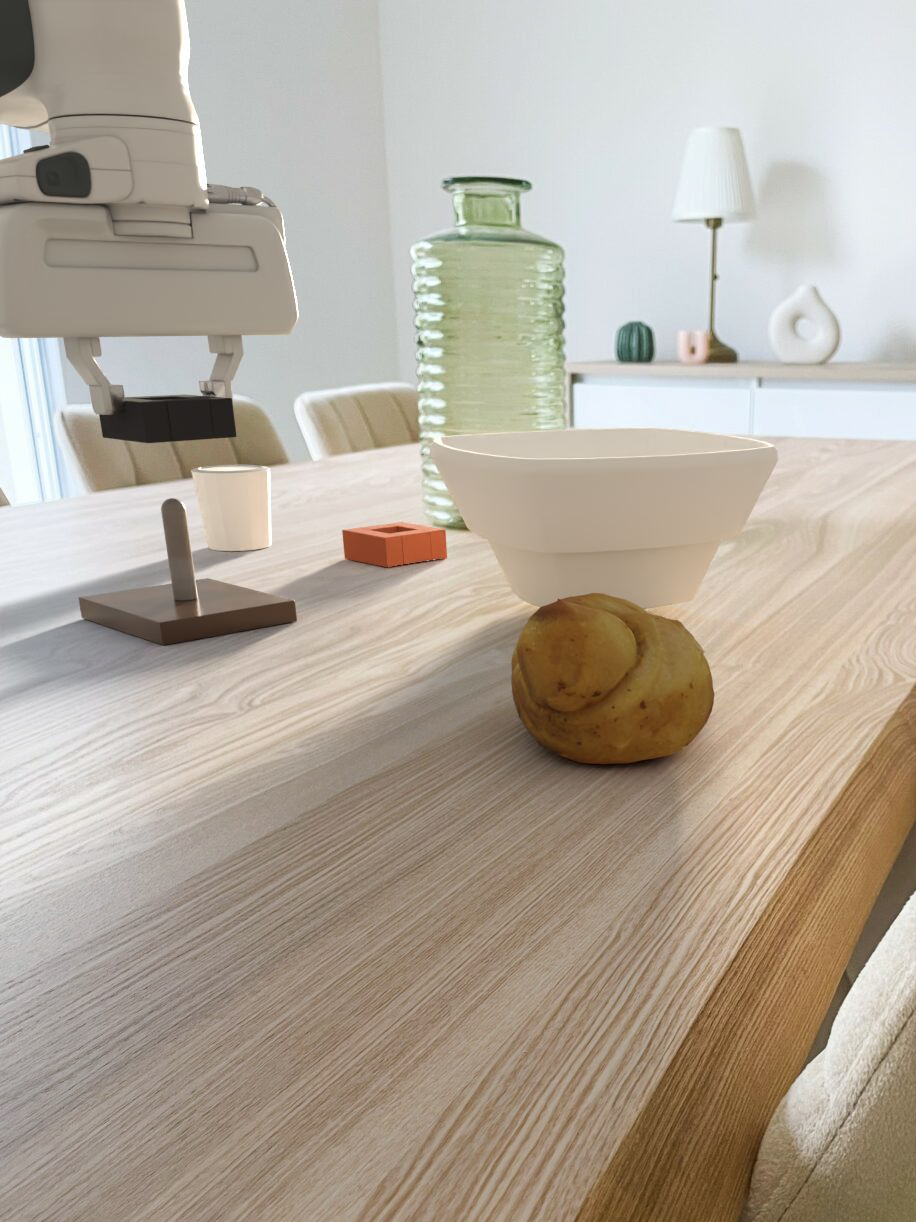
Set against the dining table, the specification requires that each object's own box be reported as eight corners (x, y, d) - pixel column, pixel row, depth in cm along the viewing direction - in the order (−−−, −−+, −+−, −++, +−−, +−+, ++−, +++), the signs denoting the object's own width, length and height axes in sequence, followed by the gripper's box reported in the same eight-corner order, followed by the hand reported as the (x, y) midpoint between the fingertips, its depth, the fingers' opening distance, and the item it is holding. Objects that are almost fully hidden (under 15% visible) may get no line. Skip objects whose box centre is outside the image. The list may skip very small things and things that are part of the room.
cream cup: (219, 554, 116) (208, 473, 113) (189, 545, 121) (179, 467, 118) (290, 546, 120) (282, 468, 117) (259, 537, 125) (250, 462, 122)
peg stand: (81, 618, 92) (60, 497, 89) (210, 597, 98) (195, 484, 95) (163, 645, 84) (143, 514, 81) (297, 621, 91) (284, 499, 88)
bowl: (409, 594, 99) (397, 435, 95) (664, 570, 109) (664, 424, 104) (517, 656, 81) (509, 464, 77) (812, 620, 91) (820, 447, 86)
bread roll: (497, 708, 71) (490, 559, 67) (671, 697, 73) (672, 552, 69) (529, 785, 59) (522, 609, 56) (734, 770, 61) (739, 599, 58)
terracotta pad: (344, 558, 114) (341, 529, 113) (403, 550, 118) (401, 522, 117) (387, 567, 110) (385, 537, 109) (447, 558, 114) (445, 529, 113)
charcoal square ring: (102, 437, 87) (96, 398, 86) (190, 432, 92) (185, 394, 91) (147, 443, 83) (141, 402, 82) (237, 437, 88) (232, 397, 87)
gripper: (254, 191, 90) (276, 402, 96) (-55, 170, 77) (-8, 416, 82) (304, 185, 86) (325, 405, 92) (-13, 161, 73) (34, 421, 78)
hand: (165, 411), depth 87 cm, fingers closed on charcoal square ring, 6 cm apart
